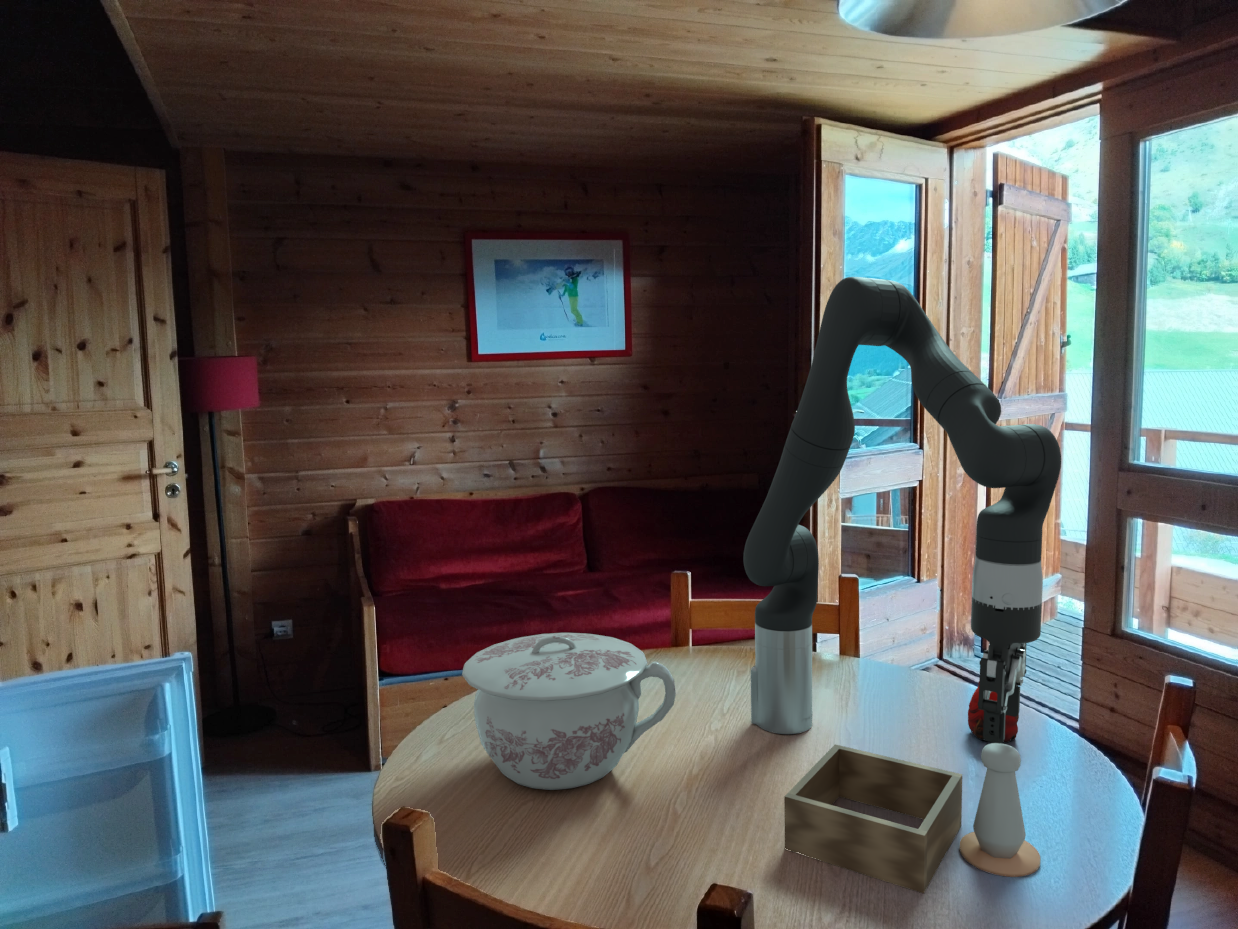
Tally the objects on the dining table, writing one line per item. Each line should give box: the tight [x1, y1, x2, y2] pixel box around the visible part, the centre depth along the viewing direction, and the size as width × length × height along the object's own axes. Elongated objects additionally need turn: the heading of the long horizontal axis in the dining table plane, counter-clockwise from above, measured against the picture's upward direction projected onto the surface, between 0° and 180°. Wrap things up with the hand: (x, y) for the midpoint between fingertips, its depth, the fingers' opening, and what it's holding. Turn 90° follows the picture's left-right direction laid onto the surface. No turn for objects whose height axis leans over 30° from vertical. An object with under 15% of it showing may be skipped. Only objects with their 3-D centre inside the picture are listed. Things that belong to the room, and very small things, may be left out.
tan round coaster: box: [959, 831, 1041, 878], centre depth 107 cm, size 9×9×1 cm
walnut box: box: [783, 743, 963, 894], centre depth 111 cm, size 17×17×7 cm
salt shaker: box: [972, 742, 1027, 859], centre depth 106 cm, size 6×6×13 cm
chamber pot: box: [461, 632, 677, 791], centre depth 131 cm, size 28×28×21 cm
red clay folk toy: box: [967, 649, 1020, 744], centre depth 138 cm, size 8×7×15 cm
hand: (1001, 727), depth 105 cm, fingers open, 8 cm apart
